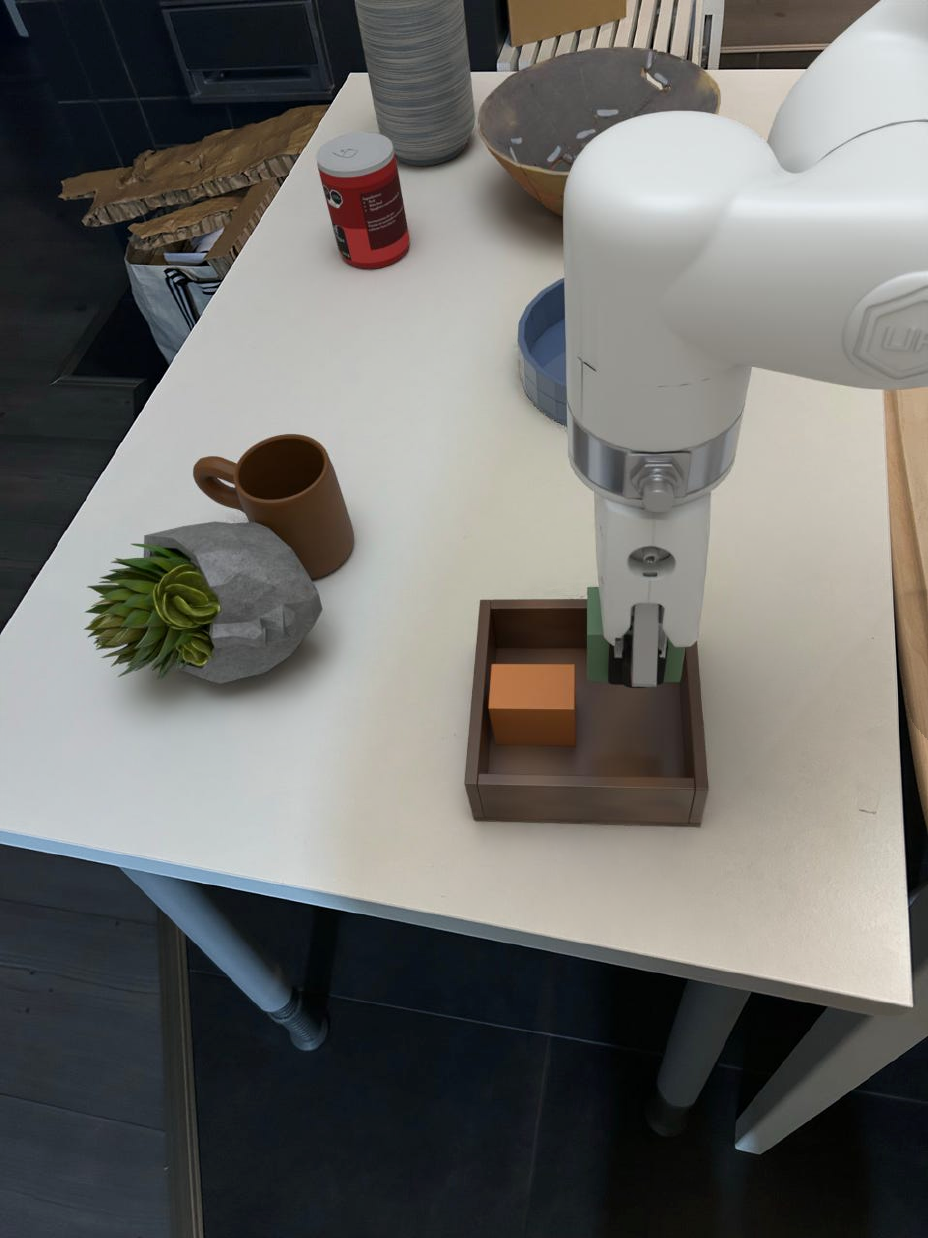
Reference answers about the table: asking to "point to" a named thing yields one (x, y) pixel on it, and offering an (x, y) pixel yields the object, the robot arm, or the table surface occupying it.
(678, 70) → the bowl
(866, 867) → the table surface
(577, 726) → the holder
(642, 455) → the robot arm
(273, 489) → the mug
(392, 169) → the canned food
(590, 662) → the packet green
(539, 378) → the blue round dish
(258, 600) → the potted plant
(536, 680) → the packet orange
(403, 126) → the vase
